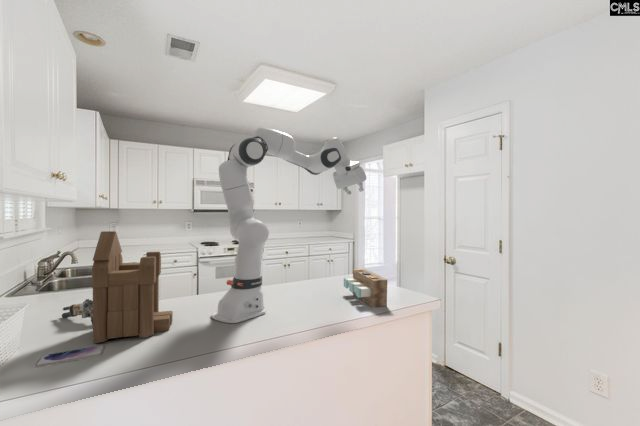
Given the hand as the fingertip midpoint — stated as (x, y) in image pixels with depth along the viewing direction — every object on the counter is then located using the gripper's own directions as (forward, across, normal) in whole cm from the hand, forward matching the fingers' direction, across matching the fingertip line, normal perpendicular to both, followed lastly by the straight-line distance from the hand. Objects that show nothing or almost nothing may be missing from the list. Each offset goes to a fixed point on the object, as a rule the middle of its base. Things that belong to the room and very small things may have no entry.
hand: (355, 192), depth 156 cm
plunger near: (+41, +9, -29) cm, 51 cm away
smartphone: (-5, -3, -125) cm, 125 cm away
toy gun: (-9, -33, -122) cm, 126 cm away
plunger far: (+42, -6, -24) cm, 48 cm away
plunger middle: (+41, +2, -27) cm, 49 cm away
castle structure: (+1, -18, -107) cm, 109 cm away
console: (+47, +3, -24) cm, 53 cm away
